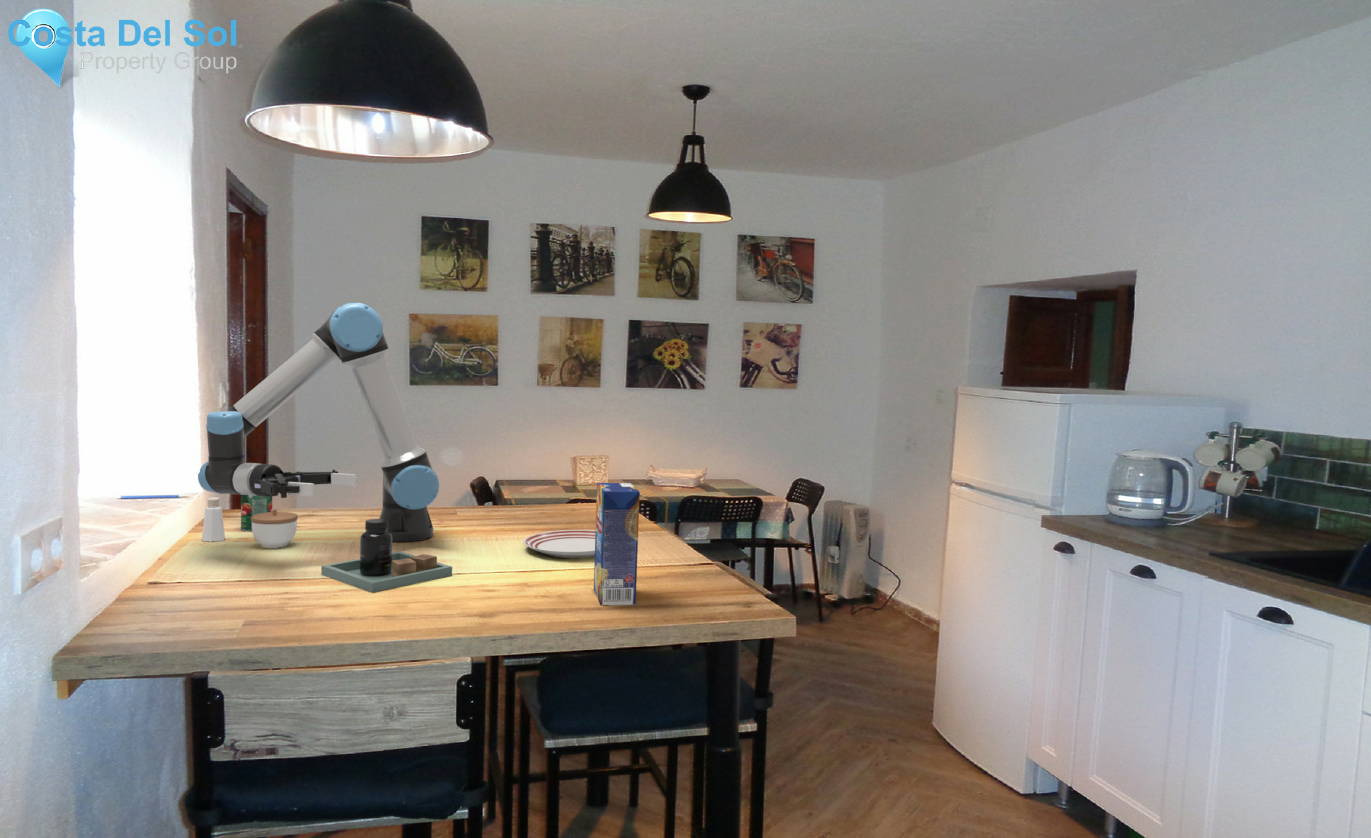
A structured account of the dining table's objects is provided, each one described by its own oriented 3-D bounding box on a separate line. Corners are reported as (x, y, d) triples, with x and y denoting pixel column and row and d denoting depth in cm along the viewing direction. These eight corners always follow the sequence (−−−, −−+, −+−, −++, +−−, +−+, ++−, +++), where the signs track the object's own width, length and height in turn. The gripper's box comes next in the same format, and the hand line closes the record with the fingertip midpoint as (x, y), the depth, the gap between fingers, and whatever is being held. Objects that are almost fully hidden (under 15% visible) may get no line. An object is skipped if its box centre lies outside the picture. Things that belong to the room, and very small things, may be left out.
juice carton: (635, 604, 180) (639, 491, 178) (600, 605, 178) (604, 491, 176) (626, 589, 192) (630, 482, 190) (593, 590, 190) (597, 482, 188)
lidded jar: (305, 542, 224) (306, 507, 223) (282, 551, 213) (282, 514, 212) (267, 539, 225) (267, 504, 224) (241, 549, 214) (241, 512, 214)
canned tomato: (278, 528, 239) (279, 489, 238) (254, 533, 232) (254, 493, 231) (258, 525, 242) (258, 486, 242) (234, 529, 235) (234, 490, 234)
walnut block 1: (409, 576, 192) (409, 558, 191) (415, 580, 188) (416, 562, 188) (391, 578, 189) (391, 560, 189) (397, 582, 186) (397, 564, 186)
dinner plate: (506, 558, 216) (506, 545, 216) (543, 536, 243) (543, 524, 243) (611, 567, 211) (612, 554, 211) (637, 544, 238) (638, 532, 238)
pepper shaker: (196, 540, 221) (196, 498, 220) (216, 536, 226) (216, 495, 225) (210, 543, 219) (210, 500, 218) (230, 539, 224) (230, 497, 223)
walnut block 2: (423, 571, 196) (423, 553, 196) (436, 573, 194) (436, 556, 194) (410, 574, 193) (410, 557, 192) (423, 577, 191) (423, 559, 191)
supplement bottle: (352, 574, 191) (353, 521, 190) (374, 567, 197) (375, 516, 197) (377, 578, 189) (377, 524, 188) (398, 571, 195) (399, 519, 194)
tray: (400, 563, 206) (400, 551, 206) (451, 579, 194) (452, 566, 193) (321, 578, 190) (321, 565, 190) (372, 597, 178) (372, 583, 178)
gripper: (299, 487, 213) (371, 492, 206) (216, 505, 189) (294, 511, 182) (298, 457, 212) (370, 461, 205) (215, 471, 188) (293, 476, 182)
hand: (335, 485), depth 194 cm, fingers open, 13 cm apart
